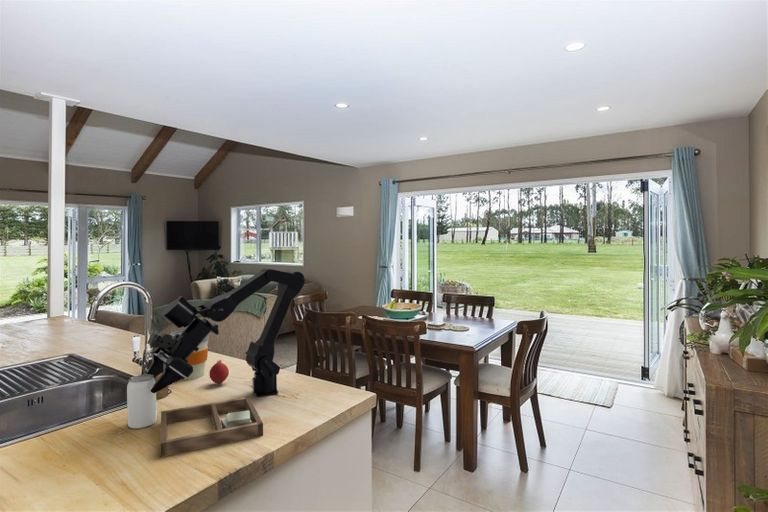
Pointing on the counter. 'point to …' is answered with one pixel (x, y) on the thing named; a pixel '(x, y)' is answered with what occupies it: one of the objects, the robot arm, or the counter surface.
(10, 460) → the counter surface
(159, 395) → the wooden pepper mill
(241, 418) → the offcut stack
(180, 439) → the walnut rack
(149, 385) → the can
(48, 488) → the counter surface
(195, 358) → the reusable coffee cup
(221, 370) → the red pomegranate
